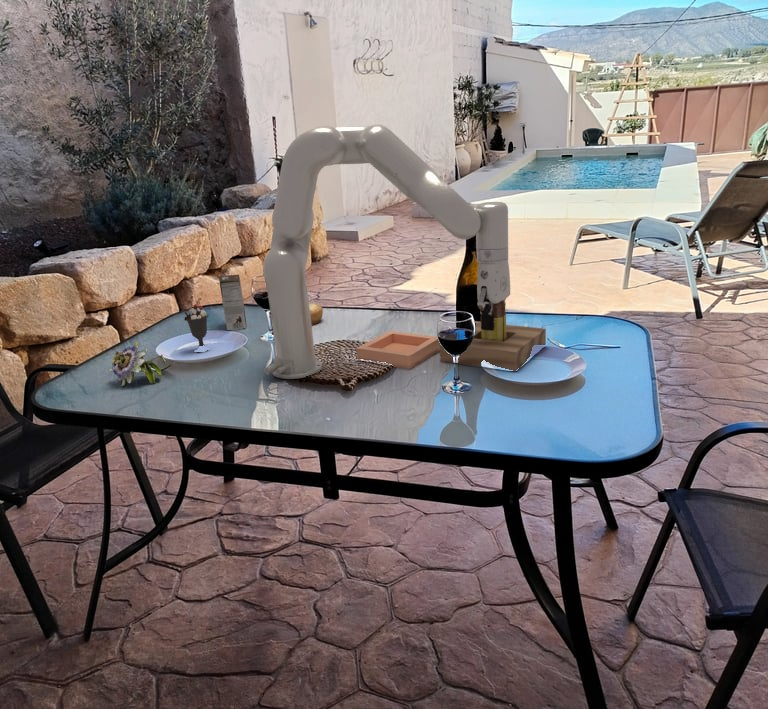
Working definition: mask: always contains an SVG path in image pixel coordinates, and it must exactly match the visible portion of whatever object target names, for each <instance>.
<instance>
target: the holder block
mask: <svg viewBox="0 0 768 709" xmlns="http://www.w3.org/2000/svg"><path fill="white" fill-rule="evenodd" d="M474 321H475V320H474ZM475 323H476V330H475V337H474V339H473V341H472V343H471V345H470V346H469V348H468V349H467V350H466V352H464V353H463V354H462V355H461V356H460V357H459V362H458V364H457V365H463V366H468V367H469V366H470V367H477V368H482V367H481V362H482V361H483V360H485V361H486V362H489V363H490V364H492V365H495V366H497V367H501V368H505V369H509V370H513V371H516V370H517V369H518V368H520V367H521V366H522V365H523V364H524V363H525V362H526V361H527V359H528V358H529V357H530V354H531V351H532V347H533V346H534V345H546V344H547V343H546V338H547V337H546V336H547V334H546V333H547V328H543V327H533V326H523V325H516V324H515V325H514V324H506V341H505V342H499V341H491V340H483V339H481V321H477V320H476V321H475ZM439 358H440V360H439V361H440V362H442V363H447V364H449V363H450V364H454V363H453V357H452V356H451V355H450V354H448V353H447V352H446V351H445V350H444V348H443V347H442V346H441V345H440V351H439ZM521 368H522V367H521ZM521 368H520V369H521Z"/></svg>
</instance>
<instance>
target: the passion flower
mask: <svg viewBox="0 0 768 709" xmlns="http://www.w3.org/2000/svg"><path fill="white" fill-rule="evenodd" d="M138 349H139V342H138V341H135V342H134V343H133V345H132V346H131V345H130V346H128V347H127V348H126V347H125V348H124V349H122V351H120V350H119V351H116V352H115V353H114V355H113V357H112V361H111V365H112V366H111V367H110V368H109V369H108V371H109V372H113V374H114V375H115V376H116V377H117V381H118V382H121V385H120V387H126V385H128V384H129V385H130V384H132V383H133V381H134V378H135V373H137V374H139V373H140V372H144V374H145V376H146V378H147V380H148V381H149V383H150V384H156V375H158V377H159V379H161V377H162V369H161V368H160V366H158V365H157V364H156V363H155V362H154V360H156V359H158V358H161V360H162V362H163V364H167V360H166V359H165V357H164V356H163V354H161V355H159V356H157V357H155V358H152V359H150V360H147V361H146V360H145V358H144V357H145V356H146V355H147V354H148V349H147V348H146V349H142V350H140V351H138ZM152 369H153V370H154V371H155V372H154V371H153V370H152ZM155 373H156V375H155Z"/></svg>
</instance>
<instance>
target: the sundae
mask: <svg viewBox="0 0 768 709" xmlns="http://www.w3.org/2000/svg"><path fill="white" fill-rule="evenodd" d="M201 300H202V297H201V298H200V297H199V298H198V300H197V302H196V303H195V304H193V306H192V307H190V308H189V309H188V313H187V312H186V311H184V314H185V316H184V321H185V322H186V321H187V323H188V326H189V330H190V332H191V335H192V336H193V337H194V338H195V339H196V340H198V347H199V346H203V345H204V346H205V344H204V340H203V339H204V338H205V337H206V336H207V332H208V327H207V325H208V324H207V322H208V321H207V320H208V319H207V318H209V314H207V312H206V311H205V310H204V309H203V306H202V305H201V302H200V301H201ZM198 303H199V305H198Z"/></svg>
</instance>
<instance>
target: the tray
mask: <svg viewBox="0 0 768 709" xmlns="http://www.w3.org/2000/svg"><path fill="white" fill-rule="evenodd" d="M437 337H438V336H433V335H425V334H417V333H410V332H401V331H393V330H389V331H388V332H385V333H383V334H381V335H379V336H378V337H376V338H373V339H371V340H369V341H367V342H366V343H363V344H362V345H359V346H357V347H356V348H355V349H356V360H357V359H364V360H372V361H379V362H386V363H390V364H392V365H393V367H392V368H398V369H404V370H405V369H406V370H411V369H413V368H415V367H416V366H418V365H420V364H421V363H423V362H425V361H427V360H428V359H429V358H431V357H433V356H434V355H436V354H437V353H440V343H439V341H438V338H437Z"/></svg>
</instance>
